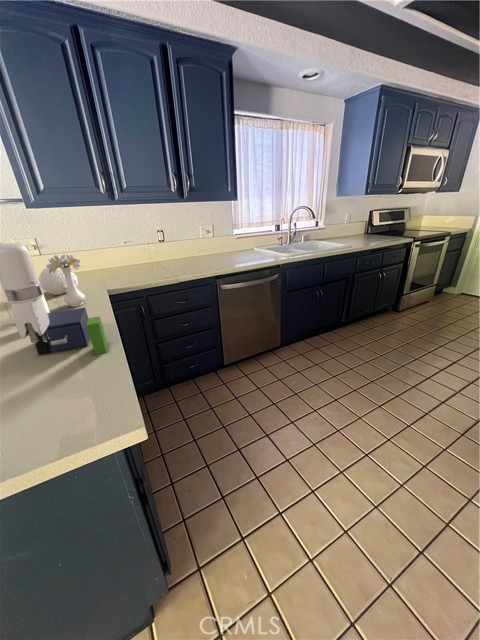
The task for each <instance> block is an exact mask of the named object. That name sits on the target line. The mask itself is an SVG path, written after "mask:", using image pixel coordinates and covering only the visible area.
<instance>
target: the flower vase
mask: <svg viewBox="0 0 480 640" xmlns="http://www.w3.org/2000/svg"><path fill="white" fill-rule="evenodd" d="M48 262H49V263H47V264H46V267H47V268H48V269H50V270H49V273H51V272H52V270H53V273H54V272H55V271H56V270H57V268H60V269H61V270H62V272H63V273H64V276H65V279H66V283H67V287H68V291H67V292H66V293H65V295H64V297H63V301H64V302H65V303H66V304H67V305H69V306H70V307H73V308H75V307H81V306H82V305H84V302H85V301H86V299H87V298H86V295H85V294H84V293H83V292H82V291H81V290H79V289H78V288H77V287H76V286H75V284H74V281H73V278H72V274H71V272H72V269H74V270H77V271H80V267H81V265H80V263H81V260H80V259H77V258H75V257H74V256H73V254H69V255H68V254H62V255H61V256H59V255H58V254H57V255H55V254H54V255H53V257H50V256H48Z"/></svg>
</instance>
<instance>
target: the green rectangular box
mask: <svg viewBox="0 0 480 640" xmlns="http://www.w3.org/2000/svg"><path fill="white" fill-rule="evenodd" d="M87 329H88V332H89V335H90V338H89V340H90V342H91V345H92V348H93V352H94V355H100V354H106V353H107V351H108V350H107V349H108V341H107V338H106V334H105V330H104V327H103V323H102V319H101V316H94V317H93V316H92V317H88V322H87Z"/></svg>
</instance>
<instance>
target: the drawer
mask: <svg viewBox="0 0 480 640" xmlns="http://www.w3.org/2000/svg"><path fill="white" fill-rule="evenodd" d="M47 332H48V336H49V338H48V339H50V342H51V345H52V348H53V351H58V350H63V351H65V350H64V349H68V350H70V349H69V348H74V347H79V348H81V347H80V346H84V347H86V346H85V343H84V339H83V336H82V333H81V330H80V326H79V324H75V325H69V326H63V327H57V328H51V329H47ZM74 349H75V348H74ZM53 351H52V353H54V352H53ZM58 352H59V351H58Z"/></svg>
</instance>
